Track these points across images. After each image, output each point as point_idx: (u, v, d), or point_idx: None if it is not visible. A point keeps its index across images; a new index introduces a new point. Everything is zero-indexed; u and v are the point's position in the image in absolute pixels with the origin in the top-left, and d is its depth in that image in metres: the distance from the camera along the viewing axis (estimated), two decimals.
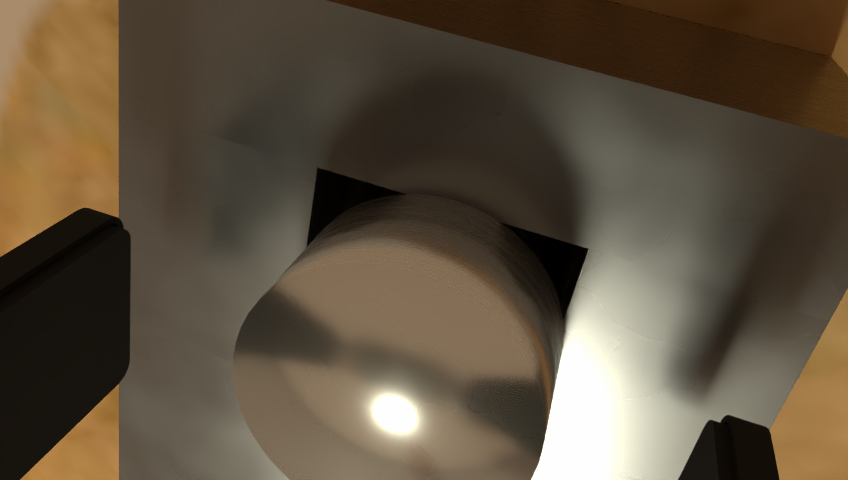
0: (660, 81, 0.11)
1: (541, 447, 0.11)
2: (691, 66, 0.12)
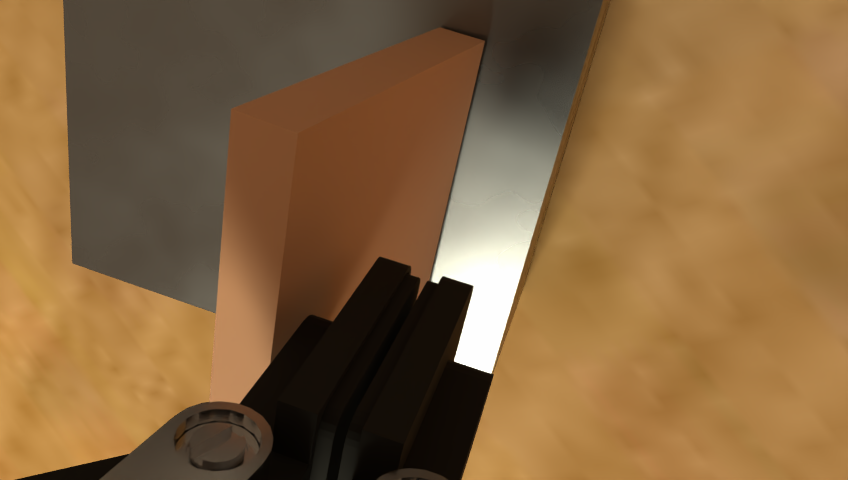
0: None
1: None
2: None
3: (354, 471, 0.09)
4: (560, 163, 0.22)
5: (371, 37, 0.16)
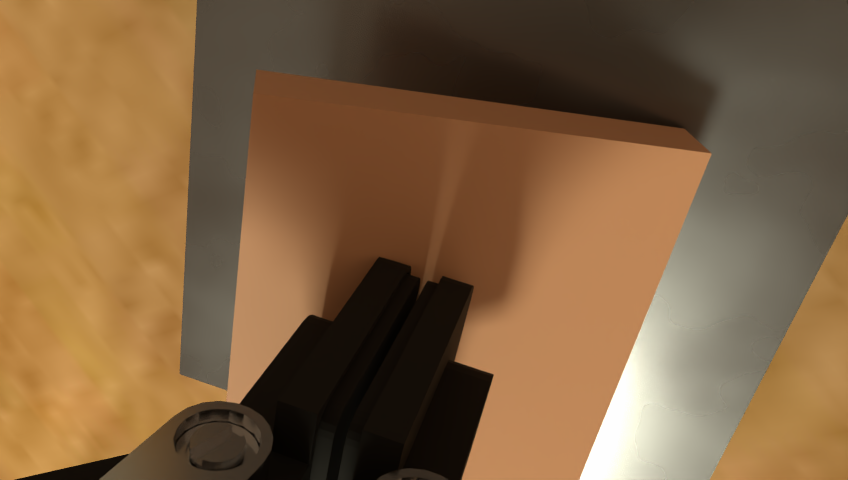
0: None
1: None
2: None
3: (354, 471, 0.09)
4: None
5: None
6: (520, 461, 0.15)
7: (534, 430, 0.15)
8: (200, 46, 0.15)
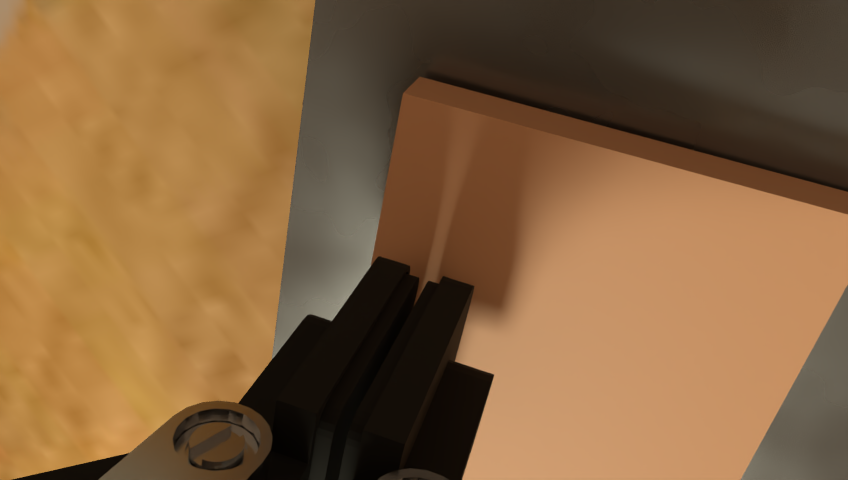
0: None
1: None
2: None
3: (355, 471, 0.09)
4: None
5: None
6: None
7: None
8: (309, 95, 0.13)
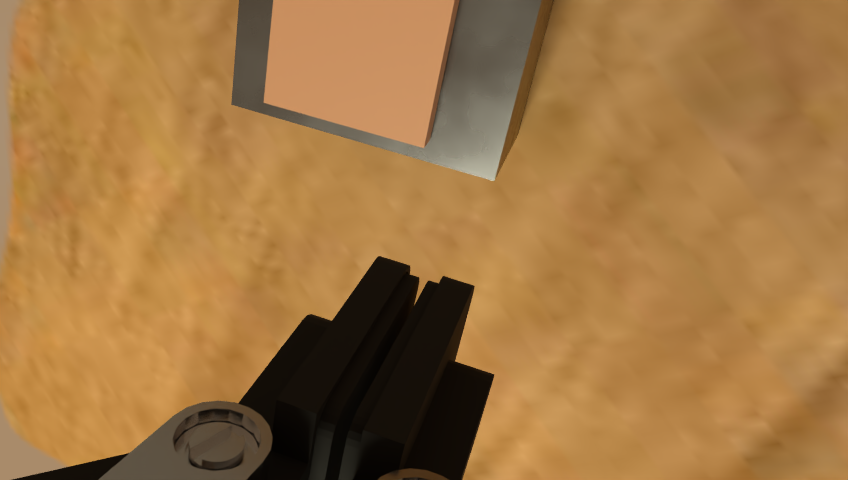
0: None
1: None
2: None
3: (355, 471, 0.09)
4: (541, 40, 0.34)
5: None
6: (397, 110, 0.31)
7: (402, 90, 0.30)
8: None
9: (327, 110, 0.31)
